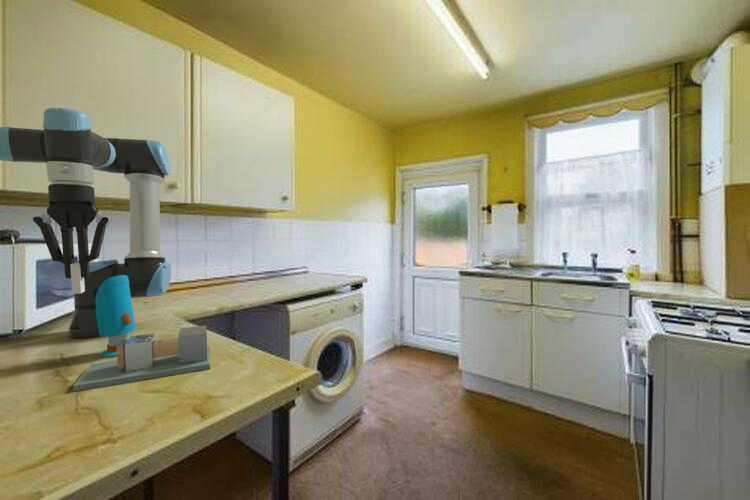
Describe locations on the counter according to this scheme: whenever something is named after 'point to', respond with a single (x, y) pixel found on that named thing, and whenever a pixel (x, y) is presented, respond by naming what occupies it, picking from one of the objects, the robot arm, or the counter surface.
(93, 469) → the counter surface
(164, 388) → the counter surface
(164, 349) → the bolt
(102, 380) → the board
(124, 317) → the security camera
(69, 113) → the robot arm
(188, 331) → the socket
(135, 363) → the sleeve
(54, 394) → the counter surface
